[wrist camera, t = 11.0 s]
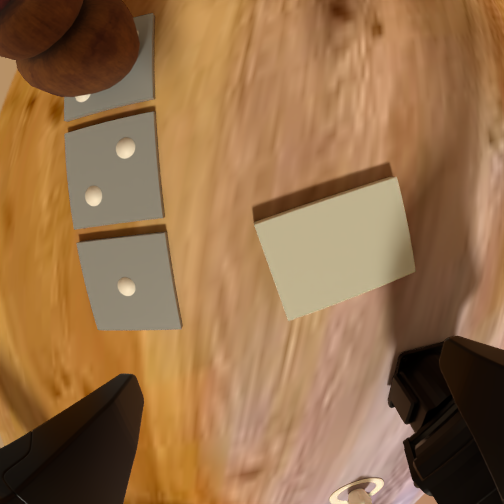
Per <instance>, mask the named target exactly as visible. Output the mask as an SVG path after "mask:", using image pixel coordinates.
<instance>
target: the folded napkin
mask: <svg viewBox="0 0 504 504" xmlns="http://www.w3.org/2000/svg"><path fill="white" fill-rule="evenodd" d="M254 226H255V229H256V231H257V234H258V237H259V240H260V243H261V245H262V248H263V251H264V254H265V257H266V259H267V262H268V265H269V268H270V271H271V273H272V276H273V279H274V282H275V285H276V288H277V290H278V293H279V296H280V299H281V302H282V305H283V307H284V310H285V313H286V316H287V319H288V321H290V320H293V319H296V318H299V317H302V316H305V315H307V314H310V313H313V312H316V311H319V310H321V309H324V308H327V307H330V306H332V305H335V304H338V303H340V302H343V301H345V300H348V299H351V298H353V297H356V296H358V295H361V294H363V293H366V292H368V291H371V290H373V289H376V288H378V287H381V286H383V285H386V284H388V283H390V282H393V281H395V280H397V279H400V278H402V277H404V276H407V275H409V274H411V273H414V272H416V270H415V263H414V257H413V251H412V245H411V239H410V234H409V228H408V223H407V218H406V214H405V209H404V205H403V200H402V196H401V192H400V188H399V184H398V180H397V177H387V178H384V179H381V180H378V181H375V182H372V183H369V184H366V185H362V186H359V187H356V188H353V189H350V190H347V191H344V192H341V193H338V194H335V195H332V196H329V197H326V198H323V199H320V200H317V201H314V202H311V203H308V204H305V205H302V206H299V207H296V208H293V209H290V210H288V211H285V212H282V213H279V214H276V215H273V216H270V217H267V218H265V219H262V220H259V221H256V222H254Z"/></svg>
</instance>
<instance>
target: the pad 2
mask: <svg viewBox="0 0 504 504" xmlns="http://www.w3.org/2000/svg"><path fill="white" fill-rule="evenodd" d="M65 153H66V168H67V179H68V189H69V197H70V205H71V213H72V219H73V226H74V229H81V228H88V227H95V226H102V225H110V224H117V223H125V222H133V221H141V220H149V219H158V218H164V217H165V214H164V205H163V197H162V187H161V177H160V167H159V155H158V142H157V127H156V113H155V112H148V113H143V114H139V115H134V116H129V117H125V118H121V119H116V120H112V121H108V122H104V123H100V124H97V125H93V126H89V127H86V128H82V129H79V130H76V131H72V132H69V133H66V134H65Z"/></svg>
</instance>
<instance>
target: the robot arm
mask: <svg viewBox="0 0 504 504" xmlns="http://www.w3.org/2000/svg"><path fill="white" fill-rule="evenodd" d="M404 357H405V358H404ZM403 358H404V359H403ZM388 405H389V407H391V408H393V407H395V408H396V410H397V411H398V413H399V415H400V417H401V418H402V420H403V422H404V423H405V424H410V425H411V427H412V429H413V430H414V432H415V433H414V434H413V435H412V436H411V437H409V438H407V439H406V440H404V441H403V444H404V448H405V449H404V450H405V454H406V458H407V461H408V465H409V469H410V473H411V477H412V480H413V481H414V486H415V487H416V488H420V489H421V490H422V491H423V492H424V493H426V494H427V495H429V496H433V497H434V498H435V500H436V502H437V503H438V504H504V350H502V349H499V348H495V347H492V346H489V345H486V344H483V343H479V342H476V341H473V340H470V339H467V338H463V337H460V336H453V337H449V338H447V339H446V340H445V341H444V342H441V343H438V344H434V345H430V346H427V347H423V348H419V349H415V350H411V351H407V352H403V353H401V354H400V355H399V357H398V362H397V367H396V371H395V375H394V377H393V381H392V385H391V389H390V393H389V401H388ZM143 406H144V398H143V394H142V391H141V389H140V386H139V383H138V380H137V378H136V376H135V375H133V374H119V375H118V376H116V377H115V378H113V379H112V380H110V381H109V382H107V383H106V384H104V385H103V386H101V387H100V388H98V389H96V390H95V391H93V392H92V393H90V394H89V395H87V396H86V397H84V398H83V399H81V400H80V401H78V402H76V403H75V404H73V405H72V406H70V407H69V408H67V409H65V410H64V411H62V412H61V413H59V414H58V415H56V416H54V417H53V418H51V419H50V420H48V421H46V422H45V423H43V424H42V425H40V426H38V427H37V428H35V429H34V430H33V431H32V432H31V431H30V432H29V433H27V434H25V435H24V436H22V437H20V438H19V439H17V440H15V441H14V442H12V443H10V444H8V445H6V446H4V447H3V448H0V504H123V502H124V498H125V493H126V489H127V485H128V481H129V477H130V473H131V469H132V465H133V461H134V458H135V454H136V450H137V445H138V439H139V432H140V425H141V418H142V412H143Z"/></svg>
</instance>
